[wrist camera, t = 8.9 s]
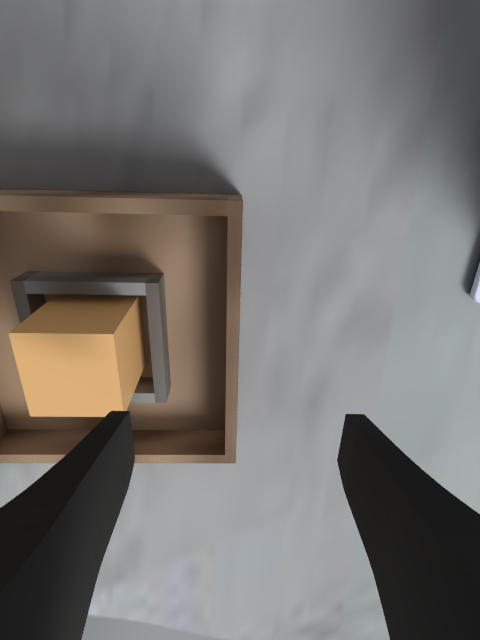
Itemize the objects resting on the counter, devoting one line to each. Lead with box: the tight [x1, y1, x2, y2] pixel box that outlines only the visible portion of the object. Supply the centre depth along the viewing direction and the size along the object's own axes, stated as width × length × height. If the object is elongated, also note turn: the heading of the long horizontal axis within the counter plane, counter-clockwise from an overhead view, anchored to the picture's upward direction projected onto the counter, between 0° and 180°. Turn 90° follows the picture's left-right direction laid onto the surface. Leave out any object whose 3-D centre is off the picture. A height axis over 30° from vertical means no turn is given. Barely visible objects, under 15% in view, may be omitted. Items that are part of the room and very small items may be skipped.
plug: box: [9, 294, 146, 417], centre depth 17 cm, size 4×4×4 cm
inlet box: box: [0, 189, 243, 463], centre depth 19 cm, size 14×14×2 cm
